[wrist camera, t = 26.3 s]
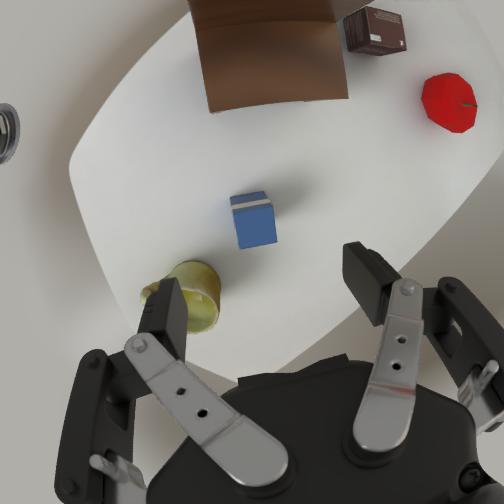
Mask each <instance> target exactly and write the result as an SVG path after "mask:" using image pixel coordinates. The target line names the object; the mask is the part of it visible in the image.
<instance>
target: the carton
mask: <svg viewBox="0 0 504 504" xmlns="http://www.w3.org/2000/svg"><path fill="white" fill-rule="evenodd" d="M230 202H231V210H232V215H233V220H234V225H235V230H236V235H237V240H238V244H239V249H245V248H250V247H256V246H261V245H266V244H271V243H276V242H277V235H276V227H275V219H274V212H273V206H272V205H271V202H270V200H269V199H268V198H267V196H266V194H265V193H264V191H262V192H256V193H251V194H246V195H240V196H235V197H230Z"/></svg>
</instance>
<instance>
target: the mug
mask: <svg viewBox="0 0 504 504" xmlns="http://www.w3.org/2000/svg"><path fill="white" fill-rule="evenodd" d="M172 277H177V279H178V281H179V284H180V287H181V289H182V292H183V295H184V298H185V300H186V303H187V308H188V323H187V334H198V333H200V332H204V331H208V330H210V329H211V328H213V327H214V325H215V324H216V323H217V320H218V317H219V312H220V290H221V284H220V279H219V276H218V275H217V273H216V272H215V271H214V270H213V269H212V268H211V267H210V266H209V265H207V264H205V263H201V262H196V261H189V262H184V263H181V264H179V265H178V266H177V267H176V268H175V269H174V270H173V271H172V272H171V273H170V274H169V275H167V276H166V277H164V278H163V279H166V278H172ZM159 284H160V281H158V282H154V283H152V284H150V285H149V286H146V287H145V288H143V289H142V292H141V294H140V303H141V304H142V305H143V306H145V303H146V299H147V298H148V297H149V295H150V294H151V293H152V292H153V291H158V287H159Z"/></svg>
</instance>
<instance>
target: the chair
mask: <svg viewBox="0 0 504 504" xmlns="http://www.w3.org/2000/svg"><path fill="white" fill-rule="evenodd" d="M372 1H374V0H188V4H189V8H190V12H191V16H192V20H193V24H194V28H195V32H196V38H197V44H198V50H199V56H200V61H201V67H202V73H203V79H204V84H205V90H206V95H207V101H208V106H209V112H210V113H211V114H214V113H220V112H221V111H225V110H230V109H236V108H243V107H250V106H257V105H264V104H273V103H282V102H293V101H304V102H306V101H319V100H334V99H348V98H349V97H348V89H347V82H346V75H345V68H344V62H343V56H342V50H341V45H340V40H339V35H338V30H337V25H336V22H338V21H339V20H341V19H343V18H344V17H346V16H348V15H349V14H351V13H353V12H354V11H356V10H358V9H360V8H361V7H363V6H365V5H367V4H369V3H371V2H372Z"/></svg>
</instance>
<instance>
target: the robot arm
mask: <svg viewBox="0 0 504 504" xmlns="http://www.w3.org/2000/svg"><path fill="white" fill-rule="evenodd" d="M10 140H11V123H10V120H9V118H8V116H7V114H6V113H5V112H3V111H0V158H1V157H2V156H3V155H4V154H5V153H6V151H7V149H8V147H9V144H10ZM342 273H343V278H344V281H345V283H346V285H347V286H348V288H349V289H350V291H351V292H352V294H353V295H354V297H355V298H356V300H357V301H358V303H359V304H360V306H361V307H362V309H363V310H364V312H365V314H366V315H367V317H368V318H369V320H370V321H371V323H372V325H373V326H374V327H375V326H378V325H381V324H383V325H384V328H383V332H382V336H381V340H380V344H379V348H378V351H377V355H376V359H375V362H374V364H373V363H370V362H366V361H359V360H348V357H347V355H346V354H341V355H338V356H334V357H331V358H327V359H323V360H320V361H318V362H316V363H314V364H312V365H310V366H308V367H306V368H304V369H302V370H300V371H297V372H295V373H262V374H257V375H252V376H246V377H240V378H238V386H237V387H234V388H232V389H230V390H228V391H227V392H225V393H224V394H222V395H221V396H218V395H217V394H216V393H215V392H214V391H213V390H212V389H211V388H210V387H208V386H207V385H206V384H205V383H204V382H203V381H202V380H201V379H200V378H199V377H198V376H197V375H196V374H195V373H194V372H192V371H191V370H190V369H189V368H188V367H187V366H186V365H185V350H186V336H187V323H188V308H187V303H186V300H185V298H184V295H183V292H182V289H181V287H180V284H179V281H178V279H177V277H172V278H166V279H161V280H160V284H159V287H158V291H153V292H152V293H151V294H150V295H149V297H148V298H147V299H146V303H145V306H144V307H145V308H144V310H143V314H142V317H141V321H140V324H139V328H138V332H137V334H136V335H134V336H132V337H131V338H130V339H129V340H128V341H127V342H126V344H125V346H124V350H123V351H121V352H118V353H115V354H112V355H110V356H108V355H107V354H106V353H105V351H103V350H101V349H94V350H91V351H89V352H88V353H86V354H85V355H84V356H83V357H82V359H81V361H80V363H79V367H78V370H77V373H76V377H75V380H74V384H73V387H72V391H71V395H70V399H69V403H68V407H67V411H66V416H65V420H64V425H63V430H62V435H61V440H60V446H59V452H58V458H57V465H56V474H55V482H54V488H55V493H56V495H57V497H58V498H59V499H60V501H61V502H63V503H64V504H504V486H502V485H501V484H500V483H498V482H497V481H495V480H494V479H493V478H491V477H490V476H489V475H488V474H487V473H486V472H485V471H484V470H483V469H482V467H481V466H480V463H479V460H478V456H477V448H476V436H478V435H479V434H481V433H482V432H492V431H494V430H495V429H497V428H498V427H499V426H500V425H501V424H502V423H503V422H504V329H503V328H502V327H501V325H500V324H499V323H498V322H497V320H496V319H495V318H494V317H493V316H492V314H491V313H490V312H489V311H488V310H487V309H486V308H485V306H484V305H483V304H482V303H481V302H480V301H479V300H478V299H477V298H476V296H475V295H474V294H473V293H472V292H471V291H470V290H469V289H468V288H467V287H466V286H465V285H464V284H463V283H462V282H461V281H460V280H458V279H456V278H454V277H443V278H441V279H440V280H439V282H438V285H437V288H436V287H435V288H422V286H421V285H420V284H419V283H418V282H416V281H415V280H412V279H407V278H405V279H403V278H402V277H401V276H400V275H399V274H398V273H397V272H396V271H395V270H394V269H393V267H392V266H391V265H389V263H388V262H387V261H386V260H384V258H383V257H382V256H381V255H380V254H379V253H377V252H375V251H373V250H371V249H366V248H365V247H364V246H363V245H362V244H361V243H360V242H359V241H356V242H352V243H347V244H344V245H343V268H342ZM454 321H456V322H457V324H458V325H459V326H460V328H461V330H462V336H461V334H460V333H459V332H458V330H457V329H456V328H455V326H454V325H453V323H454ZM423 335H426V336H427V338H428V339H429V341H430V342H431V344H432V345H433V347H434V348H435V350H436V352H437V353H438V355H439V357H440V358H441V360H442V361H443V363H444V365H445V366H446V368H447V370H448V371H449V373H450V375H451V377H452V378H453V380H454V381H455V383H456V385H457V387H458V389H459V390H458V394H457V395H458V396H457V397H458V401H459V402H457V401H455V400H453V399H450V398H448V397H446V396H443V395H441V394H439V393H436V392H434V391H432V390H430V389H427V388H425V387H423V386H421V385H419V384H416V383H417V378H418V371H419V364H420V357H421V349H422V340H423ZM151 393H153V394H154V395H155V396H156V398H157V399H158V400H159V401H160V402H161V404H162V405H163V406H164V407H165V409H166V410H167V411H168V412H169V414H170V415H171V416H172V417H173V418H174V419H175V420H176V422H177V423H178V424H179V425H180V426H181V428H183V430H184V431H185V432H186V433H187V434H188V436H187V438H186V439H185V440H184V441H183V443H182V444H181V445H180V446H179V448H178V449H177V450H176V452H175V453H174V454H173V455H172V456H171V457H170V459H169V460H168V461H167V462H166V463H165V465H164V466H163V467H162V468H161V469H160V470H159V472H158V473H157V474H156V475H155V476H154V478H153V479H152V480H151V482H150V484H149V486H148V488H147V487H146V485H145V484H144V480H143V475H142V473H141V471H140V470H139V468H137V467H136V466H135V465H133V464H132V463H133V435H134V419H135V406H136V399H137V398H139V397H142V396H145V395H148V394H151Z"/></svg>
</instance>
